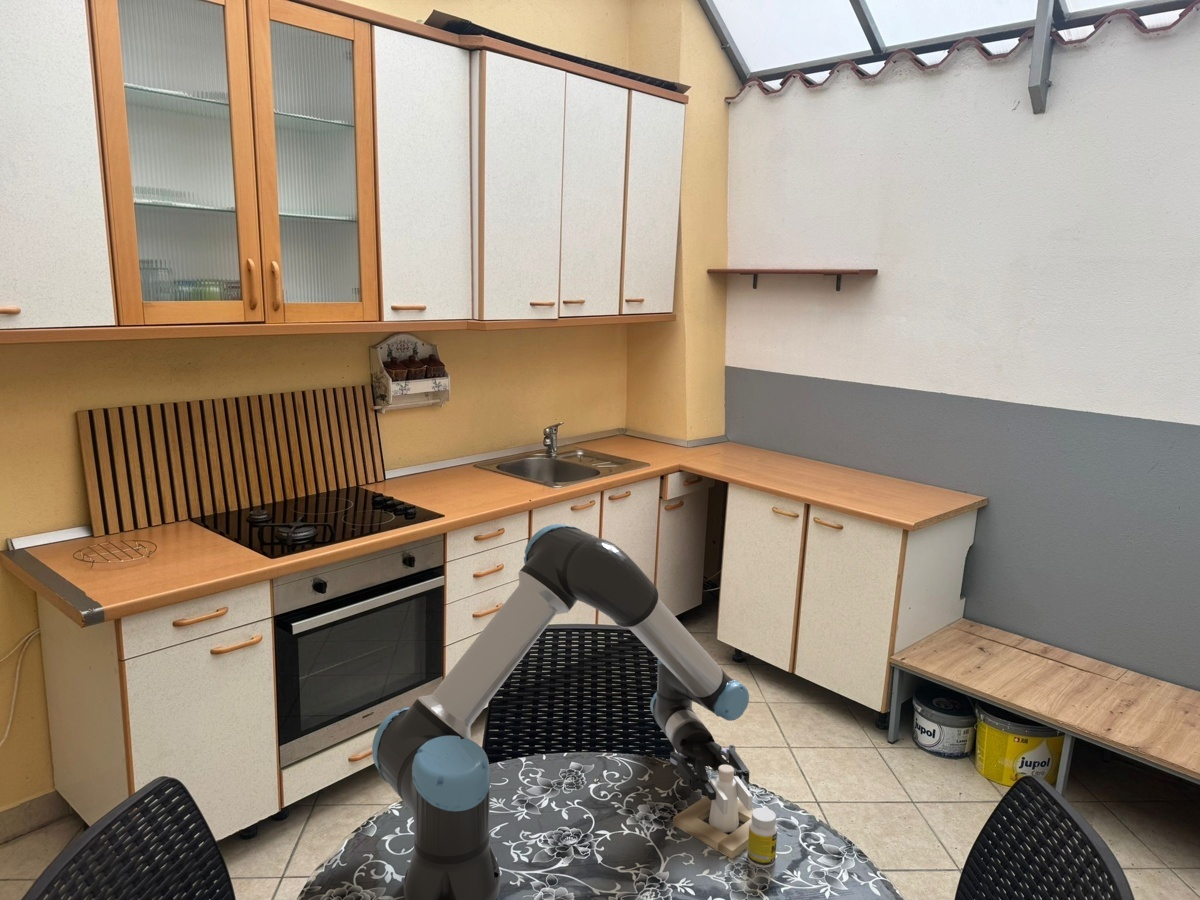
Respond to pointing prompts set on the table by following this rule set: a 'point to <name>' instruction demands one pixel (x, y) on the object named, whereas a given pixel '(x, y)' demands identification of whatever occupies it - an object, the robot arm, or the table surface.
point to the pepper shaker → (730, 790)
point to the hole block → (708, 834)
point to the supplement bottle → (762, 838)
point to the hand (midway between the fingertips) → (737, 804)
